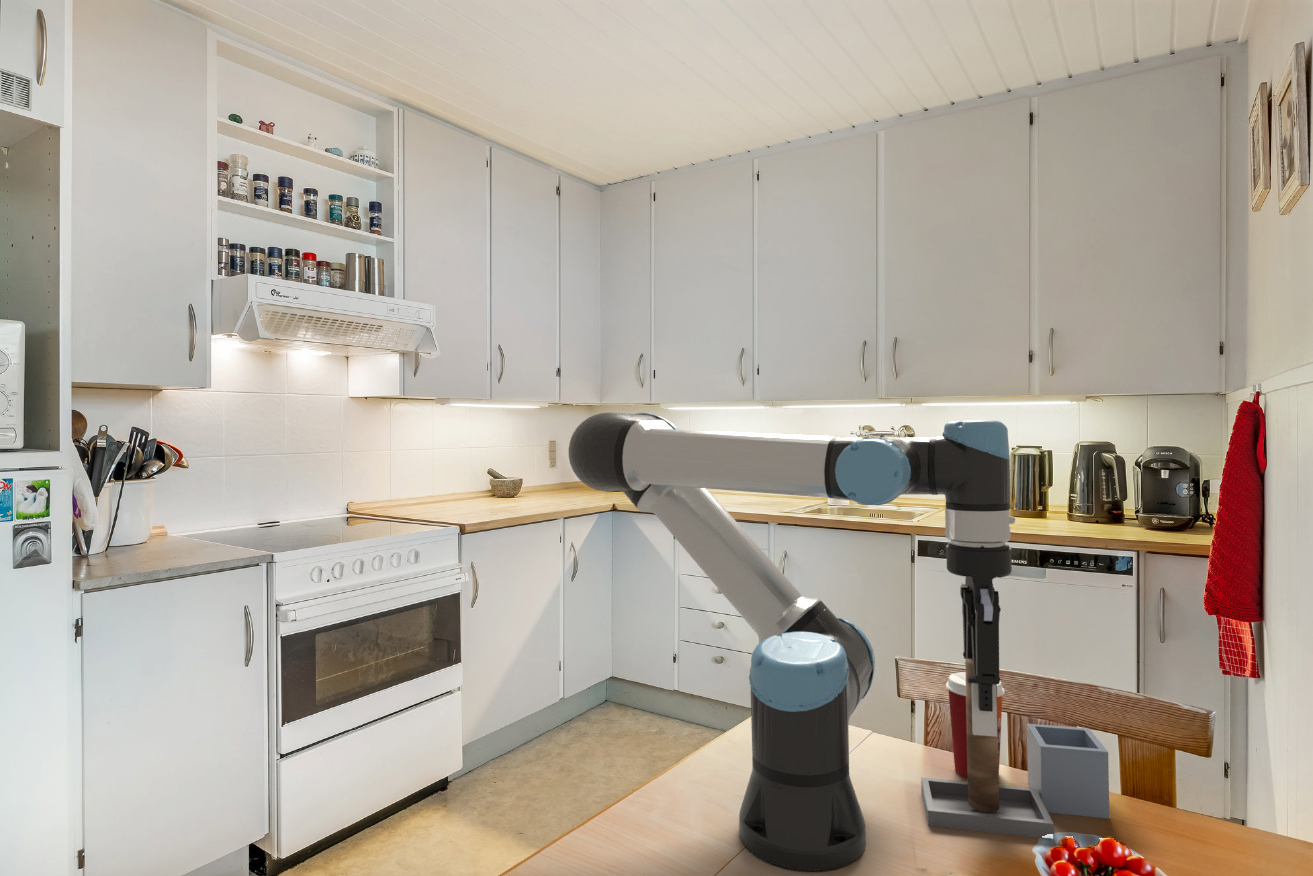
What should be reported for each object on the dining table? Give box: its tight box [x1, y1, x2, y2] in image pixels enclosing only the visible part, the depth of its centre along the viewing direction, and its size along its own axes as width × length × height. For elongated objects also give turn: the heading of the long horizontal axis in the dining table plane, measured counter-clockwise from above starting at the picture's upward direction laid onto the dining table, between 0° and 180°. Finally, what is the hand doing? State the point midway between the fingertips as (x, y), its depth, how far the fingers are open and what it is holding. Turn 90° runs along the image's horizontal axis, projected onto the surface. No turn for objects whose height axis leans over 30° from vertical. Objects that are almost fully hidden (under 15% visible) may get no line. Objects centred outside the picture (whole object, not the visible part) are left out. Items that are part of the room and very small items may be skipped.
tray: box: [920, 777, 1055, 839], centre depth 92 cm, size 14×9×3 cm, turn 75°
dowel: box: [964, 658, 1000, 812], centre depth 92 cm, size 4×4×18 cm
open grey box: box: [1026, 723, 1110, 820], centre depth 95 cm, size 8×8×9 cm
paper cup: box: [945, 671, 1006, 780], centre depth 103 cm, size 8×8×14 cm
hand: (981, 727), depth 92 cm, fingers closed on dowel, 3 cm apart
